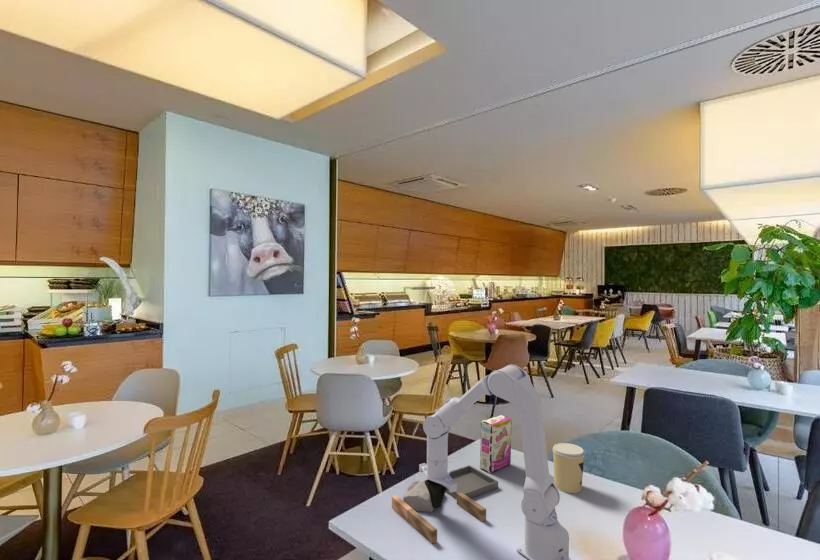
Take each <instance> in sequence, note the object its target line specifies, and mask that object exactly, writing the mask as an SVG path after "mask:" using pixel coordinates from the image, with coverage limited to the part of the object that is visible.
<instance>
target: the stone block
mask: <svg viewBox="0 0 820 560" xmlns="http://www.w3.org/2000/svg"><path fill="white" fill-rule="evenodd" d="M425 480H426V479H422V480H417V481H413V482H411V485H409V487H408V488H406V491H405V492H404V493H403V497H402V500H403V501H404V502H405V503H406V504H408V505H409V506H410V507H411V508H412V509H414V510H415V511H421V512H428V513H433V512H434V511H435V508H433V506H432V502H431V498H430V494H429V491H428V489H427V487H426V485H425Z"/></svg>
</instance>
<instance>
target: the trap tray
mask: <svg viewBox="0 0 820 560" xmlns="http://www.w3.org/2000/svg"><path fill="white" fill-rule="evenodd" d="M449 471H450V470H449ZM449 475H450V477H451V478H452V480H453V481H454V482H455V483H456V484H457V491H455V492H452V493H450V492H449V489H447V490H446V492H445V494H446V493H447V494H448V495H449V496H451V497H452V498H454V499H455V500H457V493H459V492H461V493H463V494H464V495H466V496H468V497H469V498H471V499H474V498H475V497H478V496H481V495H483V494H486V493H489V492H491V491H493V490H496V489H498V488H499V481H498V480H496V479H495V478H493V477H491V476H489V475H488V474H486V473H484V472H483V471H481V470H479V469H477V468H476V467H474V466H472V465H470V464H469V465H465V466H463V467H459V468H456V469H453V470H451V471H450V474H449Z"/></svg>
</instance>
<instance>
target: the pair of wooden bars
mask: <svg viewBox="0 0 820 560" xmlns="http://www.w3.org/2000/svg"><path fill="white" fill-rule="evenodd" d="M456 504H457V506H459V507H460V508H461V509H463V510H464V511H466V512H467V513H469V514H470V515H472V516H473V517H474V518H476V519H477V520H479V521H480V522H482V523H483V522H485V521H486V520H487V508H486V507H484V506H482V505H481V504H480V503H478V502H476V501H475V500H473V498H469V497H468V496H466V495H464V494H463V493H461V492H459V493H457V499H456ZM391 509H393V511H396V512H397V514H399V516H401V517H402V518H403V519H404V520H405V521H406V522H408V523H409V524H410V525H411V526H412V527H413V528H414V529H415V530H416V531H418V532H419V533H420V534H421V535H422V536H423V537H424V538H425V539H426V540H427V541H429V542H430V543H431V544H435V543H437V542H438V528H437V527H435V526H434V525H433V524H431V523H430V522H429V521H428V520H426V518H425V517H424V516H422V515H420V514H419V512H417V510H414V509H412V508H411V507H410V506H409V505H408V504H406V503H405V502H404V501H403V498H400V497H399V496H398V495H397V494H395V495H393V496H391Z"/></svg>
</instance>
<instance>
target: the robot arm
mask: <svg viewBox="0 0 820 560" xmlns="http://www.w3.org/2000/svg"><path fill="white" fill-rule="evenodd" d="M486 395H487V396H491V395H494V396H496V397H497V398H500V399H502V400H504V401H506V402H509V403H511V404H512V405H514V406H515V407H516V409H518V413H519V422H520V433H521V440H522V441H521V443H522V450H523V451H522V452H523V459H524V460H523V461H524V468H525V481H524V485H523V498H522V500H521V504H520V506H521V507H520V508H521V511H522V513H523V515H524V543H523V544H522V545H520V546H519V547H517V548H516V551H517V552H518V553H519V554H520V555H522V556H524V558H526V559H527V560H571V559H572V558H571V557H570V556H569V555H570V552H569V551H570V548H569V547H570V542H569V541H570V537H569V536H570V535H569V531H568V529H566V527H564V526H563V525H562V524H561V522H559V519H558V514H557V511H556V507H557V506H558V505H559V503H560V501H561V494H560V492H559V491H560V490H559V489H558V488H557V487H556V486H555V478H554V475H551V473H550V469H549V461H548V451H547V442H546V436H545V435H546V434H545V426H544V416H543V407H542V399H541V397H540V395H539V393H538V392H537V390H536V388H535V387H534V385H533V383H532V382H531V380H530V378H529V374H528V372H527V371H525V370H524V369H523V368H522V367H520V366H519V365H516V364H507V365H505V366H504V367H502V368H500V369H497V370H493V371H491V372H490V374H488V375H485V376H483V378H481V379H479V380H478V381H477V382H476V383H475V384H474V385H473V386H472V387H470V389H468V390H467V391H466V392H465V393H463V394H462V396H460V397H457V396H456V397H455V396H454V397H449V398H447V399H446V400H445V401H444V402H445V403H444V405H443V406H441V407H440V408H439V407H438V408H436V409H435V410H434V414H432V415H428V416H426V418H425V419H424V420H423V424H422V429H423V432H424V433H425V435H426V463H425V462H423V463H420V464H418V466H419V468H418V472H419V473H423V474H424V476H425V477H426V479H424V480H425V485H426V487H427V489H428V491H429V494H430V498H431V502H432V506H433V508H434V510H437V509H441V507H442V504H443V502H444V501H443V500H444V497H445V495H446V490H447V489H449V492H450V493H452V492H455V491H457V484H456V483H455V482H454V481H453V480H452V478H451V477H450V475H449V474H450V470H449V469H448V463H449V462H448V460H449V459H448V456H449V454H448V453H449V451H448V446H449V445H448V444H449V443H448V442H449V441H448V439H449V432H450V431H451V430H452V428H454V426H455V425H457V424H458V423H459V422H461V421H462V420H463V419H464V418H465V417H467V415H468V411H469V408H470V407H471V406H472V405H474V404H475V403H476V402H477V401H479V400H481V399H482V398H483V397H485V396H486Z"/></svg>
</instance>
